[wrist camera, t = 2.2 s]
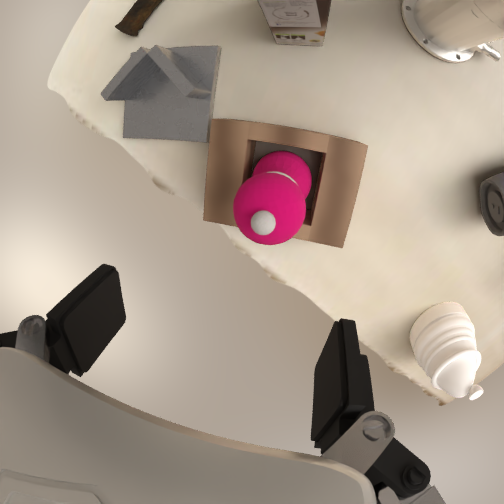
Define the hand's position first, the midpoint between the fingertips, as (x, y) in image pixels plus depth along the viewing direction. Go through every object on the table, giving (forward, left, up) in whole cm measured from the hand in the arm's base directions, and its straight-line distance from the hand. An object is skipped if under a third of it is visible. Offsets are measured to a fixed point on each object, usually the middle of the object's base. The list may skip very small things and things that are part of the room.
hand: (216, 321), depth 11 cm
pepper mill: (0, 0, -30) cm, 30 cm away
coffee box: (+1, -23, -30) cm, 38 cm away
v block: (+18, -10, -30) cm, 36 cm away
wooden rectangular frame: (0, 0, -30) cm, 29 cm away
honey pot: (-35, +21, -30) cm, 50 cm away
